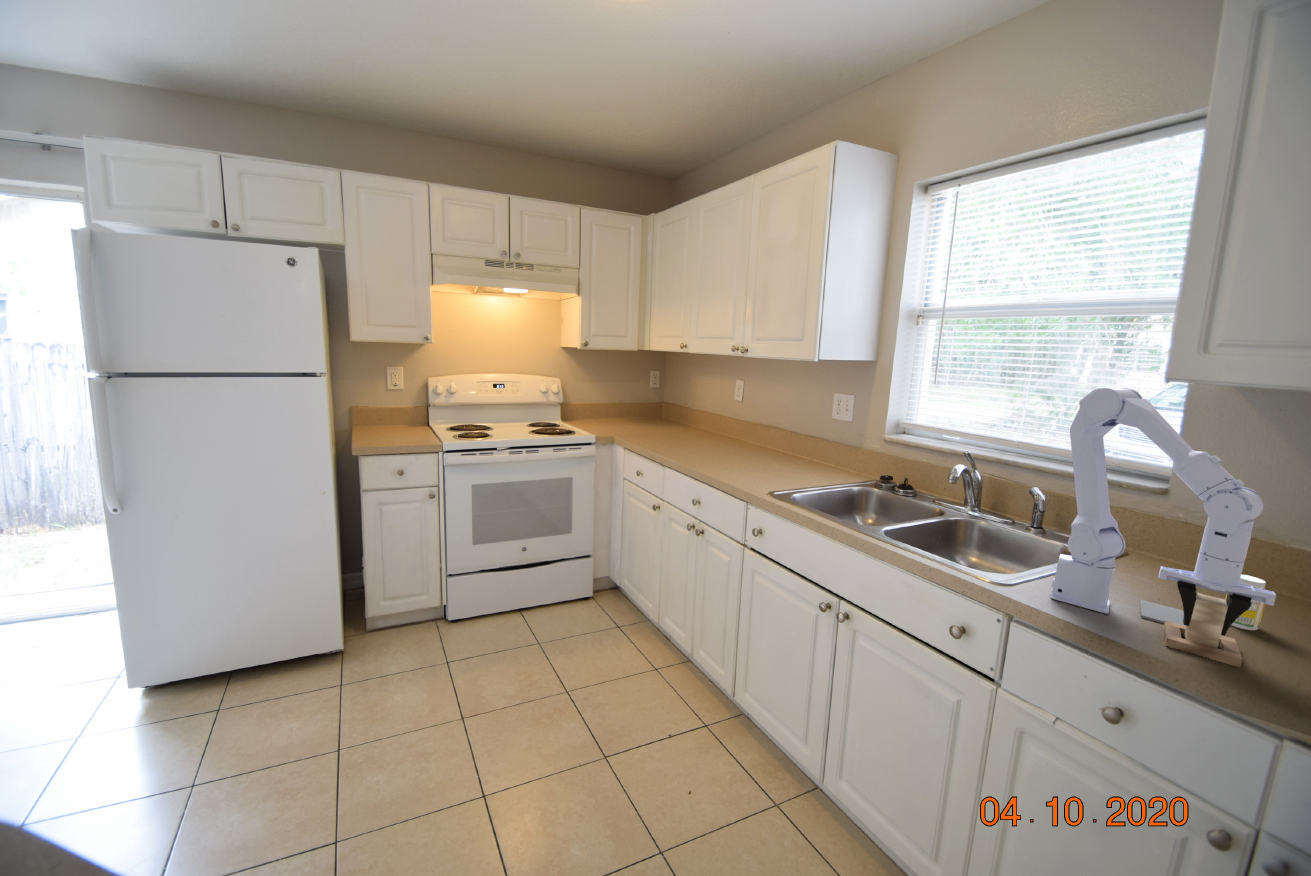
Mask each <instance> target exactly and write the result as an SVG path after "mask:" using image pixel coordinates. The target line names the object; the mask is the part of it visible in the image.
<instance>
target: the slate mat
mask: <svg viewBox="0 0 1311 876" xmlns="http://www.w3.org/2000/svg"><path fill="white" fill-rule="evenodd" d="M1139 602H1140V605H1139V606H1140V618H1142V619H1145V620H1149V621H1153V622H1155V621H1156V623H1160V624H1163V625H1164V622H1165V620H1166V621H1170V622H1174V623H1177V624H1181V625H1184V624H1183V617H1184V612H1183V609H1178V608H1175V607H1171V606H1168V605H1163V604H1159V603H1155V602H1152V601H1149V600H1144V599H1140V601H1139ZM1185 626H1186V625H1185Z"/></svg>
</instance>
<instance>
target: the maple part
mask: <svg viewBox="0 0 1311 876" xmlns="http://www.w3.org/2000/svg"><path fill="white" fill-rule="evenodd" d="M1196 594H1197V595H1196V598H1195V601H1194V604H1193V608H1192V613H1191V620H1190V624H1189V626H1186V629H1185V637H1184V639H1186V640H1189V641H1193V642H1196V643H1200V644H1204V645H1207V646H1211V647H1214V648H1218V649H1219V646H1218V644H1219V640H1220V636H1221V632H1222V628H1223V624H1224V620H1225V616H1226V613H1227V609H1228V606H1227V603H1226V601H1225V598H1220V597H1217V596H1211V595H1207V594H1202V593H1200V592H1196Z"/></svg>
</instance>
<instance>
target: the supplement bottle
mask: <svg viewBox="0 0 1311 876" xmlns="http://www.w3.org/2000/svg"><path fill="white" fill-rule="evenodd" d="M1240 583H1243V584H1247V585H1250V586H1254V587H1257V588H1261V589H1266V581H1265V580H1264V579H1261V578H1259V577H1255V576H1251V575H1249V574H1241V578H1240ZM1225 594H1226V593H1225ZM1226 598H1227V594H1226V595H1225V598H1224V599H1225V601H1226ZM1251 603H1252V604H1251V607H1250V608H1249V609H1248V610H1247V611H1245V612H1244V613H1243V614H1241V615H1240V616H1239V617H1238V618H1237V619H1236V620H1235V621H1234V622H1233V623H1232V625H1231V626H1230V627H1235V628H1238V629H1242V630H1246V631H1257V630H1258V629H1259V628H1260V625H1261V621H1262V617H1263V615H1264V610H1265V607H1266V604H1264V602H1260V601H1255V600H1251Z"/></svg>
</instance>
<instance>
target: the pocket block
mask: <svg viewBox="0 0 1311 876" xmlns="http://www.w3.org/2000/svg"><path fill="white" fill-rule="evenodd" d="M1162 629H1163V637H1164V639H1163V640H1164V644H1165V645H1166V646H1165V645H1164V646H1165V647H1167V646H1169V647H1168V648H1171V649H1174V648H1175V649H1174V650H1178V649H1180V650H1179V651H1181V650H1182V652H1184V651H1185V653H1188V652H1190V653H1189V654H1191V653H1194V654H1193V655H1195V654H1196V656H1198V655H1199V657H1202V656H1203V657H1202V658H1205V657H1207V658H1206V659H1208V658H1209V660H1212V661H1215V660H1216V661H1215V662H1220V663H1223V664H1227V665H1230V666H1232V667H1236V668H1241V667H1242V664H1243V657H1242V654H1241V652H1240V649H1239V647H1238V644H1237V641H1236V638H1232V637H1229V636H1226V635H1225V636H1223V635H1221V636H1220V640H1219V644H1218V648H1214V647H1211V646H1207V645H1204V644H1200V643H1196V642H1193V641H1189V640H1186V638H1185V629H1186V626H1185V625H1181V624H1177V623H1174V622H1170V621H1166V620H1165V622H1164V624H1163V627H1162ZM1182 637H1183V638H1182Z"/></svg>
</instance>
